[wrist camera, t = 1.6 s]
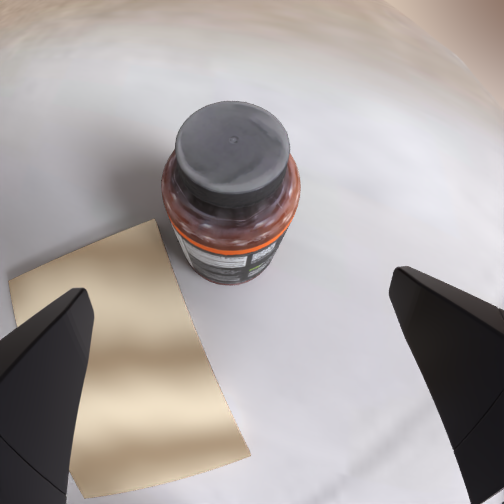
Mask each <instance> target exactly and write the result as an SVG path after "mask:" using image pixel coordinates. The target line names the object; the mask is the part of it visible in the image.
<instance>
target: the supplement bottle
mask: <svg viewBox="0 0 504 504" xmlns="http://www.w3.org/2000/svg"><path fill="white" fill-rule="evenodd" d="M161 181H162V183H161V184H162V185H161V188H162V196H163V202H164V205H165V208H166V211H167V213H168V216H169V219H170V222H171V224H172V227H173V229H174V231H175V234H176V236H177V238H178V242H179V243H180V245H181V247H182V250H183V252H184V254H185V256H186V258H187V260H188V262H189V263H190V265H191V266H192V267H193V269H194V270H195V271H196V272H197V273H198V274H199V275H200V276H202V277H203V278H205V279H206V280H208V281H210V282H213V283H216V284H220V285H239V284H242V283H245V282H248V281H250V280H252V279H254V278H255V277H257V276H258V275H259V274H260V273H262V271H263V270H265V268H266V267H267V266H268V265H269V263H270V262H271V260H272V258H273V256H274V254H275V252H276V250H277V249H278V247H279V245H280V243H281V241H282V239H283V237H284V235H285V233H286V231H287V229H288V227H289V225H290V223H291V221H292V219H293V217H294V215H295V212H296V209H297V206H298V202H299V198H300V188H301V185H300V176H299V172H298V168H297V166H296V163H295V161H294V159H293V157H292V156H291V154H290V143H289V138H288V134H287V132H286V130H285V128H284V127H283V125H282V124H281V122H280V121H279V120H278V119H277V118H276V117H275V116H274V115H272V114H271V113H270V112H268V111H267V110H265V109H263V108H261V107H259V106H256V105H254V104H249V103H247V102H240V101H222V102H217V103H214V104H210V105H207V106H205V107H203V108H201V109H199V110H198V111H196V112H195V113H193V114H192V115H190V117H189V118H188V119H187V120H186V121H185V122H184V123H183V125H182V126H181V128H180V130H179V131H178V134H177V137H176V143H175V150H174V151H173V153H172V154H171V155H170V157H169V159H168V160H167V163H166V164H165V168H164V171H163V175H162V180H161Z"/></svg>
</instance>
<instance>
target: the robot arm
mask: <svg viewBox="0 0 504 504" xmlns="http://www.w3.org/2000/svg"><path fill="white" fill-rule="evenodd" d="M389 297H390V300H391V302H392V305H393V308H394V310H395V313H396V315H397V318H398V321H399V323H400V326H401V329H402V332H403V334H404V337H405V339H406V341H407V343H408V345H409V347H410V349H411V352H412V354H413V356H414V358H415V360H416V362H417V364H418V367H419V369H420V371H421V373H422V375H423V378H424V380H425V382H426V384H427V387H428V389H429V391H430V393H431V396H432V398H433V400H434V403H435V405H436V408H437V410H438V412H439V415H440V417H441V420H442V422H443V425H444V427H445V430H446V432H447V435H448V438H449V440H450V443H451V445H452V448H453V450H454V454H455V457H456V460H457V462H458V465H459V468H460V471H461V474H462V477H463V480H464V483H465V486H466V489H467V492H468V495H469V499H470V502H471V504H482V503H483V502H485V501H486V500H488V499H490V498H491V497H493V496H494V495H496V494H497V493H499V492H500V491H502V490H503V489H504V310H502V309H500V308H499V309H498V308H497V307H496V306H494V305H492V304H490V303H488V302H485V301H483V300H481V299H479V298H477V297H475V296H473V295H471V294H469V293H466V292H464V291H462V290H460V289H458V288H456V287H453V286H451V285H449V284H447V283H445V282H443V281H440V280H438V279H436V278H434V277H431V276H429V275H427V274H425V273H422V272H420V271H418V270H416V269H413V268H411V267H409V266H402V267H397V268H395V270H394V272H393V276H392V280H391V284H390V288H389ZM93 325H94V310H93V307H92V304H91V301H90V298H89V295H88V292H87V290H86V289H85V288H72V289H70V290H69V291H67V292H66V293H64V294H63V295H61V296H60V297H59V298H57V299H56V300H54V301H53V302H51V303H50V304H49V305H47V306H46V307H44V308H43V309H42V310H40V311H39V312H38V313H36V314H35V315H33V316H32V317H31V318H29V319H28V320H27V321H25V322H24V323H23V324H21V325H20V326H19V327H17V328H16V329H15V330H13V331H12V332H11V333H9V334H8V335H7V336H5V337H4V338H3V339H1V340H0V504H66V494H67V484H68V475H69V466H70V458H71V451H72V444H73V438H74V431H75V425H76V420H77V414H78V409H79V404H80V399H81V394H82V389H83V384H84V380H85V375H86V371H87V366H88V360H89V353H90V346H91V338H92V331H93ZM502 504H504V502H503V503H502Z"/></svg>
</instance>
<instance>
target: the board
mask: <svg viewBox="0 0 504 504" xmlns="http://www.w3.org/2000/svg"><path fill="white" fill-rule="evenodd" d="M8 282H9V288H10V294H11V299H12V305H13V310H14V315H15V319H16V324H17V327H19V326H20V325H21V324H23V323H24V322H25V321H27V320H28V319H29V318H31V317H32V316H33V315H35V314H36V313H38V312H39V311H40V310H42V309H43V308H44V307H46V306H47V305H49V304H50V303H51V302H53V301H54V300H56V299H57V298H59V297H60V296H61V295H63V294H64V293H66V292H67V291H69V290H70V289H72V288H85V289H86V290H87V292H88V295H89V298H90V301H91V304H92V307H93V310H94V325H93V331H92V338H91V346H90V353H89V360H88V366H87V371H86V375H85V380H84V384H83V389H82V394H81V399H80V404H79V409H78V414H77V420H76V425H75V431H74V438H73V444H72V451H71V458H70V466H69V471H70V473H71V475H72V477H73V479H74V481H75V483H76V484H77V486H78V488H79V490H80V492H81V493H82V495H83V497H84V499H86V498H93V497H100V496H107V495H113V494H118V493H124V492H129V491H134V490H139V489H143V488H148V487H152V486H156V485H160V484H164V483H168V482H172V481H176V480H180V479H183V478H187V477H190V476H194V475H197V474H200V473H203V472H207V471H210V470H213V469H216V468H219V467H222V466H225V465H228V464H230V463H233V462H236V461H239V460H242V459H244V458H247V457H250V456H251V454H250V451H249V449H248V447H247V445H246V442H245V440H244V438H243V436H242V434H241V432H240V430H239V428H238V426H237V424H236V422H235V419H234V417H233V415H232V413H231V411H230V409H229V406H228V404H227V402H226V400H225V398H224V395H223V393H222V391H221V389H220V386H219V384H218V382H217V380H216V377H215V375H214V373H213V370H212V368H211V366H210V363H209V361H208V358H207V356H206V354H205V351H204V349H203V346H202V344H201V342H200V339H199V337H198V334H197V332H196V329H195V327H194V324H193V322H192V319H191V316H190V314H189V311H188V309H187V306H186V304H185V301H184V298H183V296H182V293H181V290H180V288H179V285H178V282H177V279H176V277H175V274H174V271H173V268H172V266H171V263H170V260H169V257H168V254H167V251H166V248H165V245H164V243H163V240H162V237H161V234H160V231H159V228H158V225H157V222H156V220H155V219H152V220H149V221H147V222H144V223H142V224H139V225H137V226H134V227H131V228H129V229H126V230H124V231H121V232H119V233H116V234H114V235H111V236H109V237H107V238H104V239H102V240H99V241H97V242H94V243H92V244H90V245H87V246H85V247H83V248H80V249H78V250H76V251H73V252H71V253H69V254H66V255H64V256H62V257H59V258H57V259H55V260H53V261H50V262H48V263H46V264H44V265H42V266H39V267H37V268H35V269H33V270H31V271H29V272H26V273H24V274H22V275H20V276H18V277H16V278H14V279H12V280H9V281H8Z"/></svg>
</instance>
